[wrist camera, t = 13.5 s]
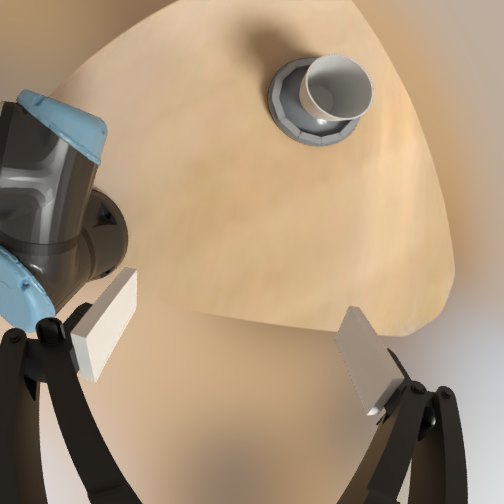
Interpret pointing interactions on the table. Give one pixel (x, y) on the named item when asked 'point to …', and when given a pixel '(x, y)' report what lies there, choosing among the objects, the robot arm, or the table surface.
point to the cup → (336, 89)
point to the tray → (302, 109)
